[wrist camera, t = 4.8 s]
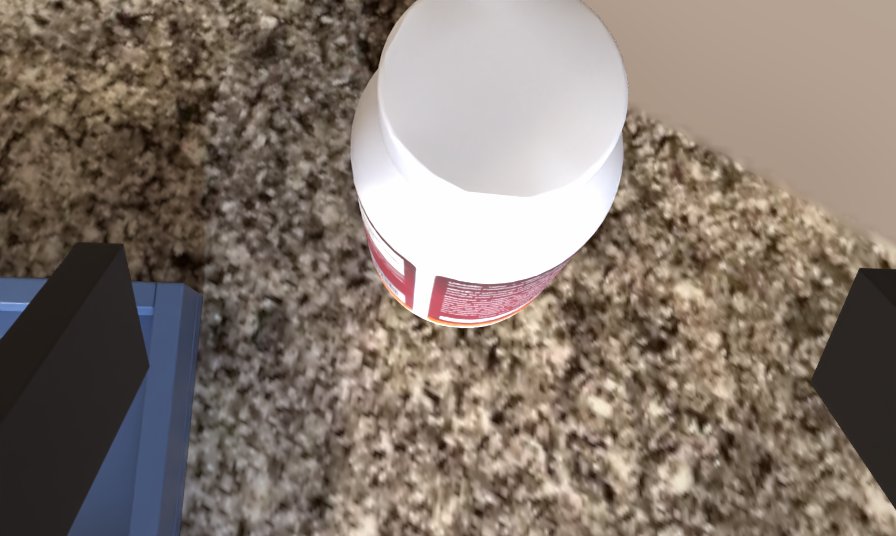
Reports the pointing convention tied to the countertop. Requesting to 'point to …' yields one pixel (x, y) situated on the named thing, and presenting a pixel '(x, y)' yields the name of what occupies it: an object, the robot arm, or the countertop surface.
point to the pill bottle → (487, 152)
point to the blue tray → (140, 415)
